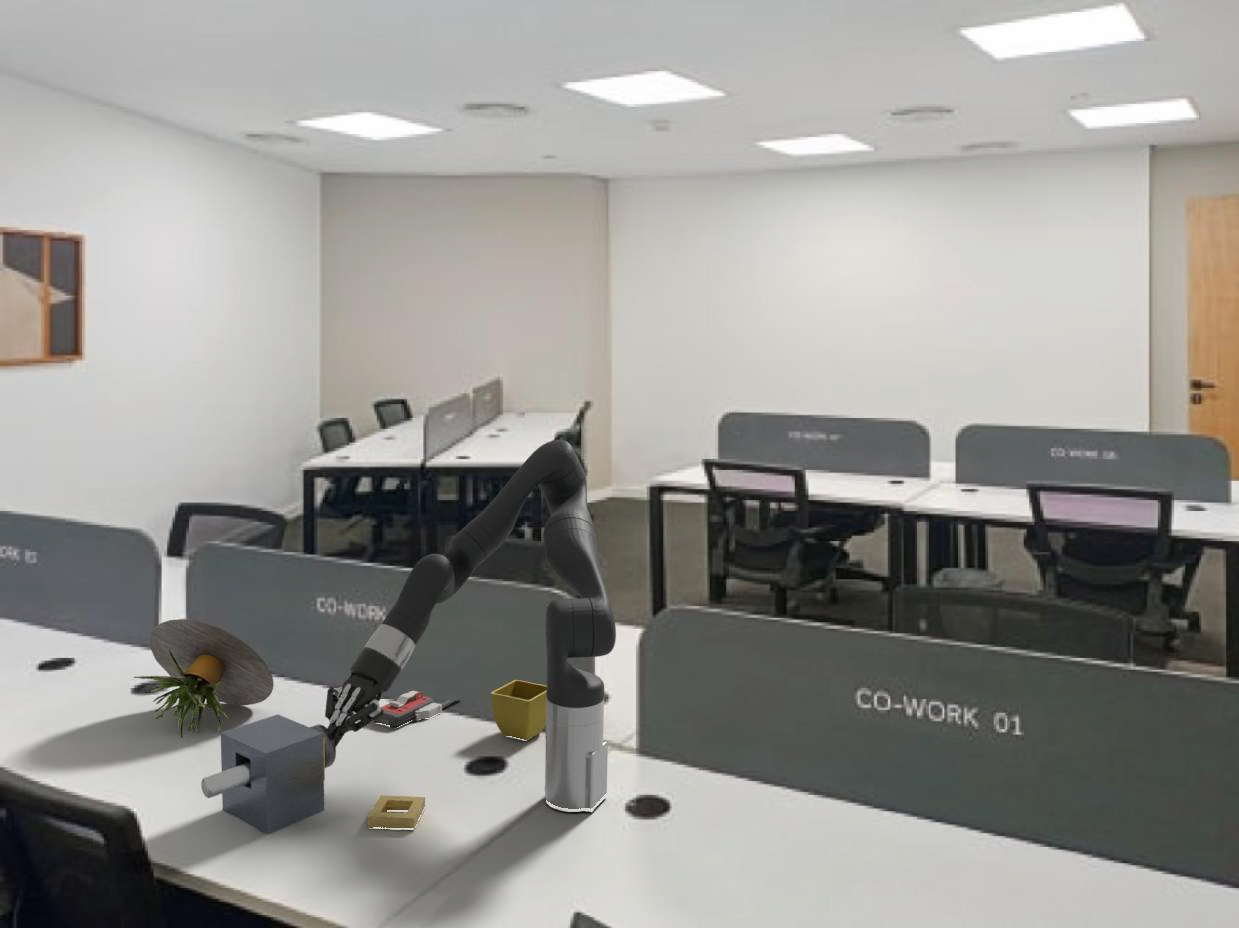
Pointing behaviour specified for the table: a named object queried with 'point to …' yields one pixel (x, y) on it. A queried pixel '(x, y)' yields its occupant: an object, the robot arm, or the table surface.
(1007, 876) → the table surface
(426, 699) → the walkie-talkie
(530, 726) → the flower pot
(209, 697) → the potted plant
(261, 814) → the bearing block
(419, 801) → the frame
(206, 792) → the shaft
